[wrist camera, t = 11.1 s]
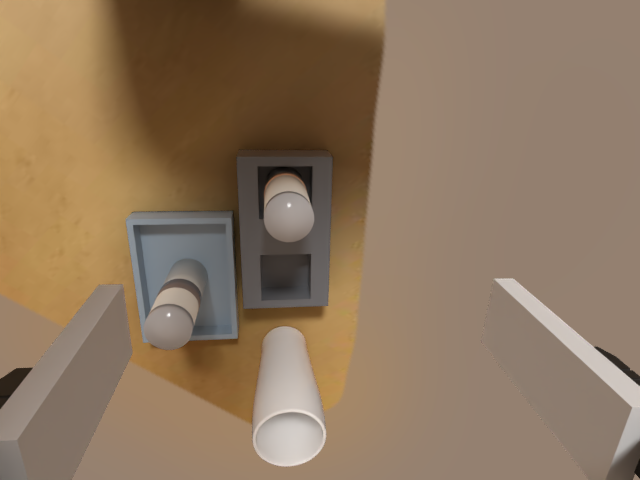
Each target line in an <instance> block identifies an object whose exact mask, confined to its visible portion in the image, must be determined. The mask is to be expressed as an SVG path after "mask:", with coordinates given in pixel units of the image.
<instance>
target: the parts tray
mask: <svg viewBox="0 0 640 480" xmlns="http://www.w3.org/2000/svg"><path fill="white" fill-rule="evenodd" d="M126 226H127V233H128V240H129V246H130V253H131V260H132V267H133V274H134V281H135V288H136V295H137V302H138V309H139V316H140V323H141V330H142V337H143V343H146V342H149V341H148V340H147V339H146V337H145V335H144V329H143V328H144V323H145V321H146V319H147V317H148V315H149V313H150V311H151V308H152V306H153V304H154V302H155V299H156V297H157V295H158V293H159V291H160V289H161V287H162V286H163V284H164V282H165V280H166V278H167V276H168V273H169V271H170V269H171V267H172V266H173V265H174V264H175V263H176V262H177V261H179V260H181V259H194V260H197V261H199V262H200V263H201V264H202V265H203V266H204V267H205V268H206V271H207V281H206V285H205V288H204V292H203V296H202V300H201V305H200V308H199V312H198V314H197V317H196V320H195V324H194V327H193V331H192V334H191V337H190V339H189V341H192V340H214V339H237V338H238V332H239V315H238V295H237V276H236V256H235V237H234V217H233V211H158V212H132V213H131V214H130V215H129V216H128V217H127V218H126Z"/></svg>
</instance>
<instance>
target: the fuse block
mask: <svg viewBox="0 0 640 480" xmlns="http://www.w3.org/2000/svg"><path fill="white" fill-rule="evenodd" d="M236 158H237V180H238V201H239V223H240V244H241V266H242V288H243V309H253V308H280V307H308V306H328V292H329V261H330V229H331V198H332V167H333V157H332V155H331V154H330V153H329V151H328V150H239V151H238V154H237V157H236ZM284 166H285V167H290V168H293V169H295V170H296V171H297V172H298V173H299V174H300V175H301V177H302V179H303V182H304V184H305V186H306V189H307V194H308V197H309V200H310V203H311V206H312V209H313V212H314V224H313V227H312V229H311V231H310V232H309V233H308V234H307V236H305V237H304V238H302V239H301V240H298V241H295V242H282V241H279V240H277V239H275V238H274V237H272V236H271V235H270V234H269V232H268V231H267V229H266V227H265V224H264V189H265V180H266V178H267V176H268V174H269V173H270V172H271V171H272V170H274V169H276V168H278V167H284Z"/></svg>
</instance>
